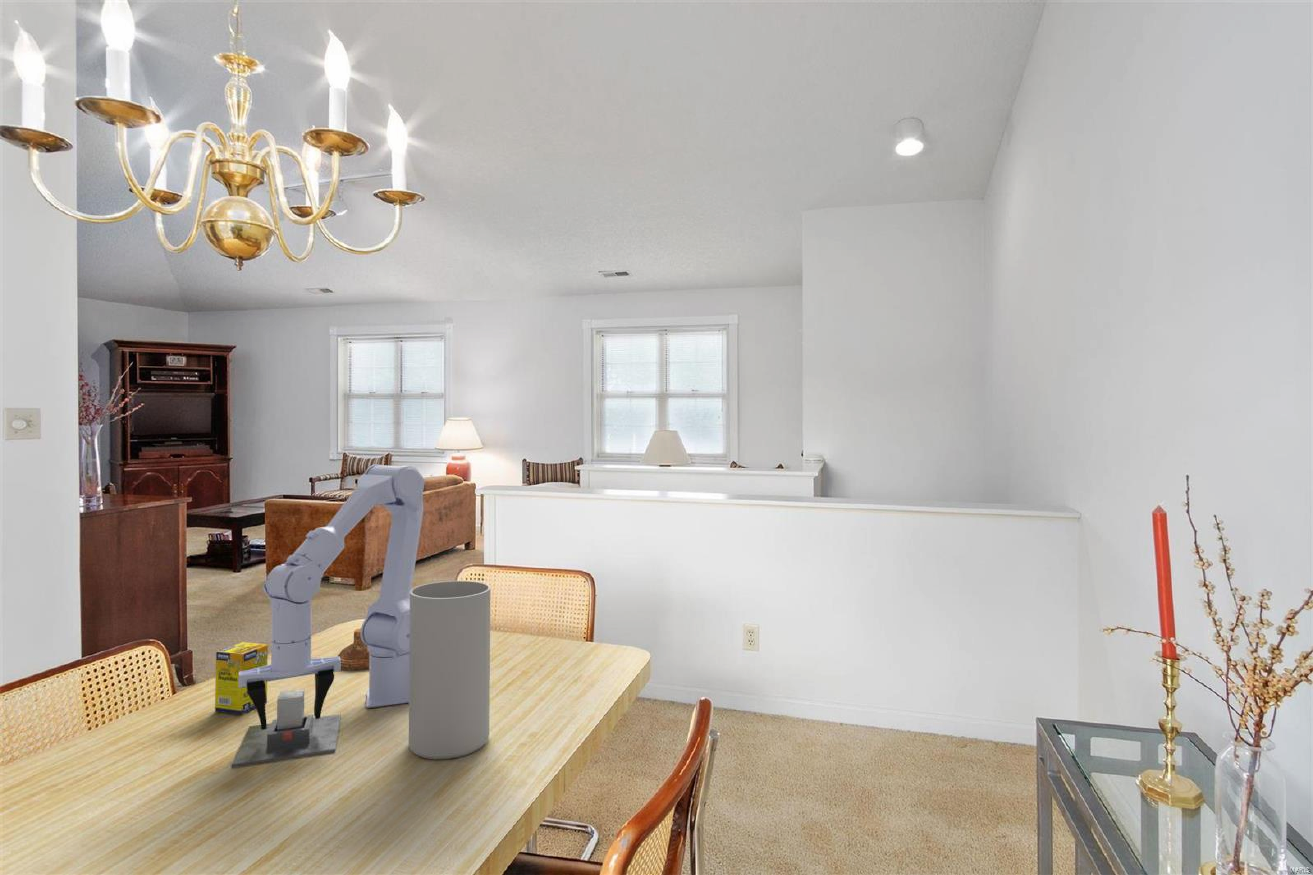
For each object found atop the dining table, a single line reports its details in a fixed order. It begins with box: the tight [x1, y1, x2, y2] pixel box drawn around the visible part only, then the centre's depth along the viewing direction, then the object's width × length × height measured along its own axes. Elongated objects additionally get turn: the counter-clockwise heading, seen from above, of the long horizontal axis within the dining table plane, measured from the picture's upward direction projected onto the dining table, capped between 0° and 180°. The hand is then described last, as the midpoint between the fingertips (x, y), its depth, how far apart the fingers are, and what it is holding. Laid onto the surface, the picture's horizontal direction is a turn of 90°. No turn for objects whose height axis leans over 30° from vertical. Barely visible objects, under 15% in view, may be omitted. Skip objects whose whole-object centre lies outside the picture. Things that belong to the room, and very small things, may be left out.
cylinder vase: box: [408, 580, 492, 760], centre depth 109 cm, size 12×12×25 cm
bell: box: [336, 627, 370, 671], centre depth 147 cm, size 12×12×7 cm
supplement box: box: [214, 641, 269, 716], centre depth 122 cm, size 6×6×11 cm
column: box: [276, 688, 305, 731], centre depth 109 cm, size 4×4×7 cm
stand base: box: [231, 713, 342, 768], centre depth 109 cm, size 14×14×3 cm
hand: (290, 721), depth 109 cm, fingers open, 7 cm apart
